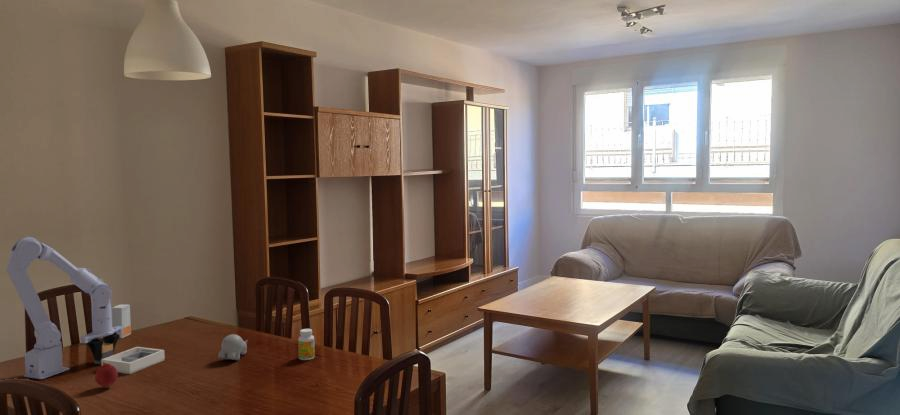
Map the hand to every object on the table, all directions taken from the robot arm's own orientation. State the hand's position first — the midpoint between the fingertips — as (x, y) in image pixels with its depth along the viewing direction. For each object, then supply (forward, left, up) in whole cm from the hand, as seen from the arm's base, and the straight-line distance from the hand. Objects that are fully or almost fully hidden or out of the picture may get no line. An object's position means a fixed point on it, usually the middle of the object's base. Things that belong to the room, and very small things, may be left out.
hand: (103, 358), depth 196 cm
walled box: (+1, -12, -1) cm, 12 cm away
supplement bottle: (+25, -63, -2) cm, 68 cm away
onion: (-17, -21, -2) cm, 27 cm away
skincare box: (+25, +20, -2) cm, 32 cm away
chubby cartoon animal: (+17, -40, -2) cm, 44 cm away
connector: (0, 0, -1) cm, 1 cm away
